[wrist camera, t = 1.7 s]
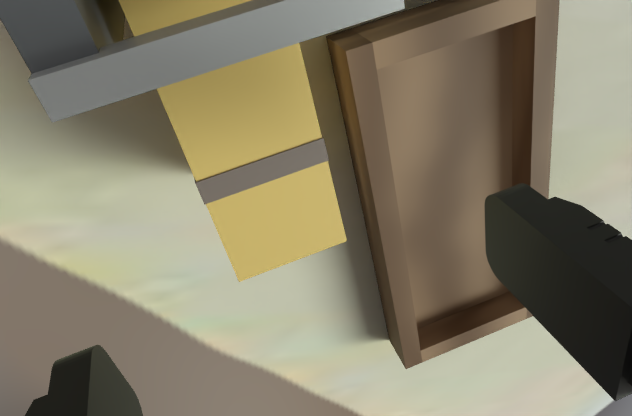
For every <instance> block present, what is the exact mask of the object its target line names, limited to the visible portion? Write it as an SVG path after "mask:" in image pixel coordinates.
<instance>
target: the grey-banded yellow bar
mask: <svg viewBox="0 0 632 416" xmlns="http://www.w3.org/2000/svg"><path fill="white" fill-rule="evenodd" d="M248 1H252V0H119V2H120V5H121V7H122V9H123V12H124V14H125V16H126V19H127V21H128V23H129V26H130V28H131V30H132V33H133V35H134V37H135V36H138V35H141V34H145V33H148V32H151V31H154V30H158V29H161V28H164V27H167V26H171V25H174V24H177V23H180V22H184V21H187V20H190V19H193V18H197V17H200V16H203V15H206V14H209V13H213V12H216V11H219V10H222V9H226V8H229V7H232V6H235V5H239V4H242V3H245V2H248ZM157 91H158V93H159V96H160V98H161V100H162V103H163V105H164V107H165V110H166V112H167V115H168V117H169V119H170V122H171V124H172V126H173V129H174V131H175V133H176V136H177V138H178V140H179V143H180V145H181V147H182V150H183V152H184V154H185V157H186V159H187V161H188V164H189V166H190V168H191V171H192V173H193V175H194V179H195V183H196V186H197V188H198V190H199V193H200V195H201V197H202V200H203V202H204V204H206V206H207V208H208V210H209V213H210V215H211V217H212V220H213V222H214V224H215V227H216V229H217V231H218V234H219V236H220V238H221V241H222V243H223V245H224V248H225V250H226V252H227V255H228V257H229V259H230V262H231V264H232V266H233V269H234V271H235V273H236V276H237V278H238V280H239V282H240V281H243V280H245V279H248V278H251V277H253V276H256V275H258V274H261V273H264V272H266V271H269V270H272V269H274V268H277V267H280V266H282V265H285V264H288V263H290V262H293V261H296V260H298V259H301V258H303V257H306V256H309V255H311V254H314V253H317V252H319V251H322V250H325V249H327V248H330V247H333V246H335V245H338V244H340V243H343V242H346V241H347V239H346V235H345V231H344V227H343V222H342V218H341V214H340V210H339V206H338V202H337V197H336V193H335V189H334V185H333V181H332V177H331V173H330V168H329V164H328V161H329V158H328V154H327V150H326V146H325V142H324V138H323V137H322V135H321V131H320V127H319V123H318V119H317V114H316V110H315V106H314V102H313V98H312V94H311V90H310V85H309V81H308V77H307V73H306V69H305V65H304V61H303V56H302V52H301V48H300V44H299V43H297V44H293V45H290V46H287V47H284V48H281V49H278V50H275V51H272V52H269V53H266V54H263V55H259V56H256V57H253V58H250V59H247V60H244V61H241V62H238V63H235V64H232V65H229V66H225V67H222V68H219V69H216V70H213V71H210V72H207V73H204V74H201V75H198V76H195V77H191V78H188V79H185V80H182V81H179V82H176V83H173V84H170V85H167V86H164V87H160V88H157Z"/></svg>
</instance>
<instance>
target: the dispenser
mask: <svg viewBox="0 0 632 416" xmlns="http://www.w3.org/2000/svg"><path fill="white" fill-rule="evenodd" d="M402 9H405V5H404V0H252V1H248V2H245V3H242V4H239V5H235V6H232V7H229V8H226V9H222V10H219V11H216V12H213V13H209V14H206V15H203V16H200V17H197V18H193V19H190V20H187V21H184V22H180V23H177V24H174V25H171V26H167V27H164V28H161V29H158V30H154V31H151V32H148V33H145V34H141V35H138V36H135V37H132V38H129V39H125V40H123V34H124V21H125V14H124V12H123V9H122V7H121V5H120V2H119V0H0V19H1V20H2V22H3V24H4V26H5V28H6V29H7V31H8V33H9V35H10V36H11V38H12V40H13V42H14V43H15V45H16V47H17V49H18V50H19V52H20V54H21V56H22V57H23V59H24V61H25V63H26V64H27V66H28V68H29V70H30V71H31V73H32V74H31V76H30V78H29V79H28V82H29V83H30V85H31V87H32V89H33V90H34V92H35V94H36V95H37V97H38V99H39V101H40V102H41V104H42V106H43V108H44V109H45V111H46V113H47V114H48V116H49V118H50V120H51V121H52V122H55V121H58V120H62V119H65V118H68V117H71V116H74V115H77V114H80V113H83V112H86V111H89V110H92V109H96V108H99V107H102V106H105V105H108V104H111V103H114V102H117V101H120V100H123V99H126V98H130V97H133V96H136V95H139V94H142V93H145V92H148V91H151V90H154V89H157V88H160V87H164V86H167V85H170V84H173V83H176V82H179V81H182V80H185V79H188V78H191V77H195V76H198V75H201V74H204V73H207V72H210V71H213V70H216V69H219V68H222V67H225V66H229V65H232V64H235V63H238V62H241V61H244V60H247V59H250V58H253V57H256V56H259V55H263V54H266V53H269V52H272V51H275V50H278V49H281V48H284V47H287V46H290V45H293V44H297V43H300V42H303V41H306V40H309V39H312V38H315V37H318V36H321V35H324V34H328V33H331V32H334V31H337V30H340V29H343V28H346V27H349V26H352V25H355V24H358V23H362V22H365V21H368V20H371V19H374V18H377V17H380V16H383V15H386V14H389V13H392V12H396V11H399V10H402Z"/></svg>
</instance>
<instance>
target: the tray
mask: <svg viewBox="0 0 632 416" xmlns="http://www.w3.org/2000/svg"><path fill="white" fill-rule="evenodd" d="M558 17H559V0H438V1H435V2H432V3H428V4H425V5H422V6H419V7H416V8H413V9H410V10H407V11H404V12H401V13H398V14H395V15H391V16H388V17H385V18H382V19H379V20H376V21H373V22H370V23H367V24H364V25H361V26H358V27H354V28H351V29H348V30H345V31H342V32H339V33H336V34H333V35H330V36H327V37H326V38H327V42H328V47H329V52H330V57H331V62H332V66H333V71H334V76H335V81H336V86H337V90H338V95H339V100H340V105H341V110H342V114H343V119H344V124H345V129H346V134H347V138H348V143H349V148H350V153H351V158H352V162H353V167H354V172H355V177H356V182H357V187H358V191H359V196H360V201H361V206H362V211H363V215H364V220H365V225H366V230H367V235H368V239H369V244H370V249H371V254H372V259H373V263H374V268H375V273H376V278H377V283H378V287H379V292H380V297H381V302H382V307H383V311H384V316H385V321H386V326H387V331H388V335H389V340H390V342H391V344H392V346H393V347H394V349H395V351H396V353H397V354H398V356H399V358H400V360H401V361H402V363H403V365H404V367H405V368H406V369H407V368H410V367H412V366H414V365H417V364H419V363H422V362H424V361H426V360H429V359H431V358H434V357H436V356H438V355H441V354H443V353H446V352H448V351H450V350H453V349H455V348H458V347H460V346H462V345H465V344H467V343H470V342H472V341H474V340H477V339H479V338H481V337H484V336H486V335H489V334H491V333H493V332H496V331H498V330H501V329H503V328H505V327H508V326H510V325H513V324H515V323H517V322H520V321H522V320H525V319H527V318H529V317H532V316H533V315H532V314H531V313H530V312H529V311H528V310H527V309H526V308H525V307H524V306H523V305H522V304H521V303H520V301H519V300H518V299H517V298H516V297H515V296H514V295H513V294H512V293H511V292H510V291H509V290H508V289H507V288H506V287H505V286H504V285H503V284H502V283H501V282H500V281H499V280H498V278H497V277H496V276H495V274H494V273H493V271H492V269H491V267H490V265H489V263H488V260H487V256H486V247H485V207H484V205H485V199H486V197H487V196H489V195H491V194H494V193H496V192H499V191H502V190H504V189H507V188H509V187H512V186H515V185H517V184H520V183H524V184H527V185H529V186H530V187H532V188H533V189H534V190H536V191H537V192H539V193H540V194H541V195H543V196H544V197H545V198H547V199H548V195H549V177H550V159H551V142H552V124H553V106H554V88H555V70H556V52H557V35H558Z"/></svg>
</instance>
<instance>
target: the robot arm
mask: <svg viewBox="0 0 632 416" xmlns="http://www.w3.org/2000/svg"><path fill="white" fill-rule="evenodd" d="M484 207H485V247H486V256H487V260H488V263H489V265H490V267H491V269H492V271H493V273H494V274H495V276H496V277H497V278H498V280H499V281H500V282H501V283H502V284H503V285H504V286H505V287H506V288H507V289H508V290H509V291H510V292H511V293H512V294H513V295H514V296H515V297H516V298H517V299H518V300H519V301H520V303H521V304H522V305H523V306H524V307H525V308H526V309H527V310H528V311H529V312H530V313H531V314H532V315H533V316H534V317H535V318H536V319H537V320H538V321H539V322H540V323H541V324H542V325H543V326H544V328H545V329H546V330H547V331H548V332H549V333H550V334H551V335H552V336H553V337H554V338H555V339H556V340H557V341H558V342H559V343H560V344H561V345H562V346H563V347H564V348H565V349H566V350H567V351H568V352H569V354H570V355H571V356H572V357H573V358H574V359H575V360H576V361H577V362H578V363H579V364H580V365H581V366H582V367H583V368H584V369H585V370H586V371H587V372H588V373H589V374H590V375H591V376H592V377H593V379H594V380H595V381H596V382H597V383H598V384H599V385H600V386H601V387H602V388H603V389H604V390H605V391H606V392H607V393H608V394H609V395H610V396H611V397H612V398H613V399H614V400H615V401H617V400H619V399H621V398H623V397H626V396H628V395H630V394H632V240H631V239H629V238H628V237H627V236H625V237H623V236H622V234H621V232H619V231H618V230H616V229H615V228H613V227H612V226H611V225H609V224H605V223H604V221H603V220H602V219H600V218H599V217H597V216H596V215H595V214H593V213H592V212H590V211H589V210H587V209H586V208H584V207H583V206H581V205H578V204H575V203H572V202H569V201H566V200H563V199H560V198H557V197H553V198H551V199H547V198H545V197H544V196H543V195H541V194H540V193H539V192H537V191H536V190H534V189H533V188H532V187H530V186H529V185H527V184H524V183H520V184H517V185H515V186H512V187H509V188H507V189H504V190H502V191H499V192H496V193H494V194H491V195H489V196H487V197H486V199H485V205H484ZM25 416H143V414H142V410H141V406H140V403H139V400H138V398H137V396H136V394H135V392H134V391H133V389H132V388H131V386H130V385H129V383H128V382H127V381H126V379H125V378H124V376H123V375H122V374H121V372H120V371H119V370H118V368H117V367H116V365H115V364H114V362H113V361H112V360H111V358H110V357H109V355H108V354H107V352H106V351H105V350H104V349H103V348H102V347H101V346H100V345H95V346H92V347H90V348H87V349H85V350H83V351H80V352H77V353H74V354H72V355H69V356H66V357H64V358H61V359H59V360H57V361H55V363H54V364H53V367H52V371H51V378H50V385H49V391H48V395H45V396H43V397H40V398H38V399H35V400H34V401H33V402H32V404H31V406H30V407H29V409H28V411H27V413H26V415H25Z"/></svg>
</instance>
